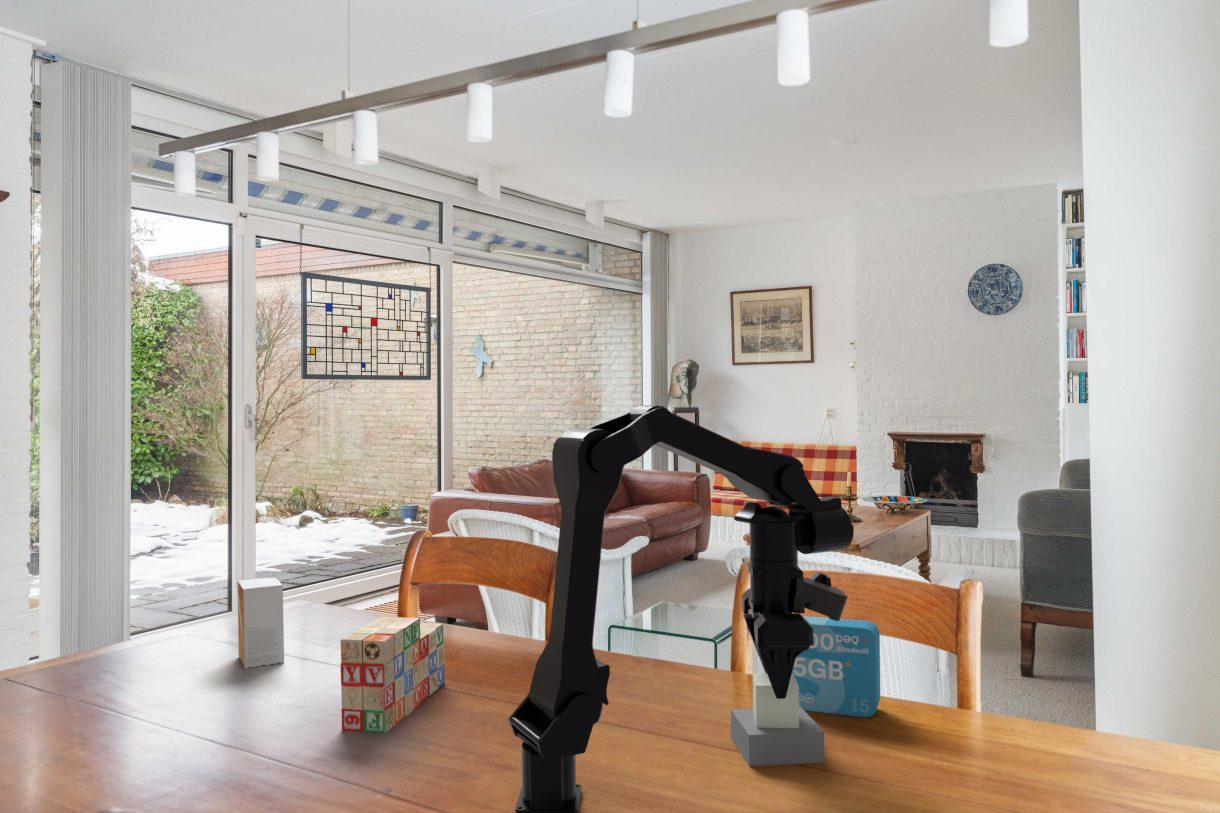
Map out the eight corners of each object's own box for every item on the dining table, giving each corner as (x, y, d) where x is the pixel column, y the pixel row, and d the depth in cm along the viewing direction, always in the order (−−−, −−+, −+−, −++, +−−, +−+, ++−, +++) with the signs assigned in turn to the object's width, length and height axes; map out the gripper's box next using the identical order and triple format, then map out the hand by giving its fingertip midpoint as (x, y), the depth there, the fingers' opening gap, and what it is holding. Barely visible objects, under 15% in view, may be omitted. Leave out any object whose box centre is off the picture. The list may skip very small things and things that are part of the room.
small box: (237, 657, 156) (236, 580, 156) (277, 651, 159) (276, 576, 159) (243, 669, 149) (242, 588, 149) (284, 663, 152) (283, 584, 152)
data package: (786, 709, 127) (785, 621, 127) (793, 699, 131) (792, 614, 131) (876, 719, 122) (876, 629, 122) (880, 708, 127) (879, 621, 126)
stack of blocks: (406, 682, 141) (405, 602, 141) (445, 684, 140) (444, 603, 140) (340, 731, 120) (339, 637, 120) (385, 734, 119) (384, 639, 119)
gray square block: (824, 765, 108) (824, 731, 108) (749, 769, 107) (748, 735, 107) (800, 737, 117) (800, 706, 117) (731, 741, 116) (730, 709, 116)
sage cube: (799, 728, 109) (798, 686, 109) (756, 727, 110) (756, 685, 110) (793, 714, 114) (793, 673, 114) (753, 713, 115) (752, 673, 115)
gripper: (858, 571, 102) (860, 712, 102) (825, 545, 121) (827, 664, 121) (757, 572, 103) (759, 712, 103) (740, 545, 121) (741, 664, 122)
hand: (775, 686), depth 112 cm, fingers open, 9 cm apart
